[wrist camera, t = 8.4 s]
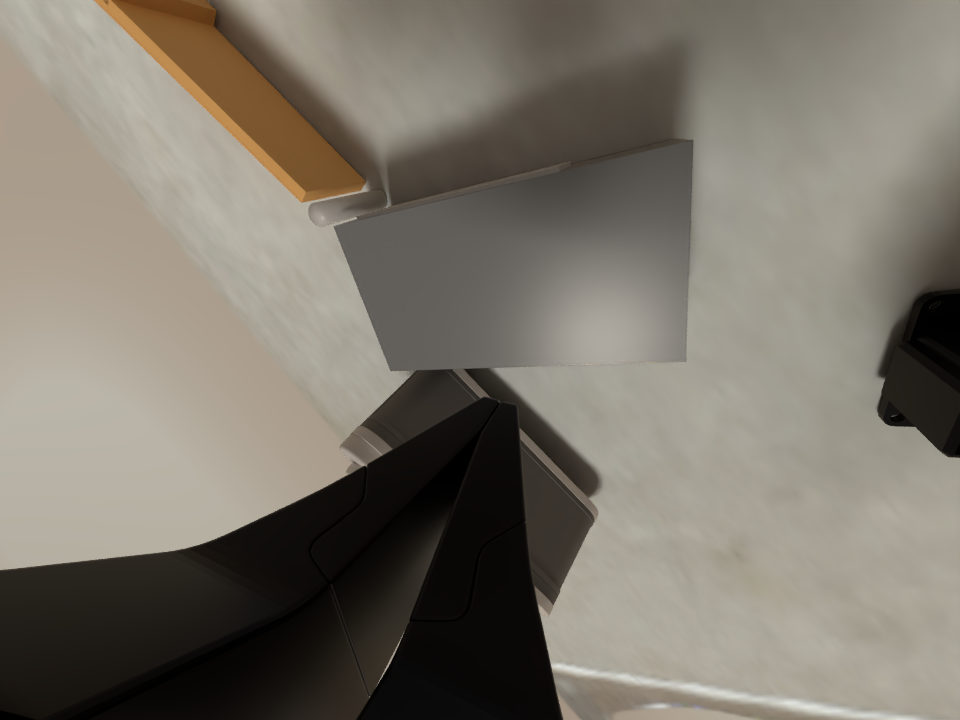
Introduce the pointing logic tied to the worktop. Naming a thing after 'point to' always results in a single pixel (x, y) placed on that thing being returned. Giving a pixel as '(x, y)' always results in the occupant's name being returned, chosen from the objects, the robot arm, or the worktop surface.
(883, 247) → the worktop surface
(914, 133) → the worktop surface
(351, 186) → the brown rectangular block
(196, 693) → the robot arm
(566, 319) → the case
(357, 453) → the camera
